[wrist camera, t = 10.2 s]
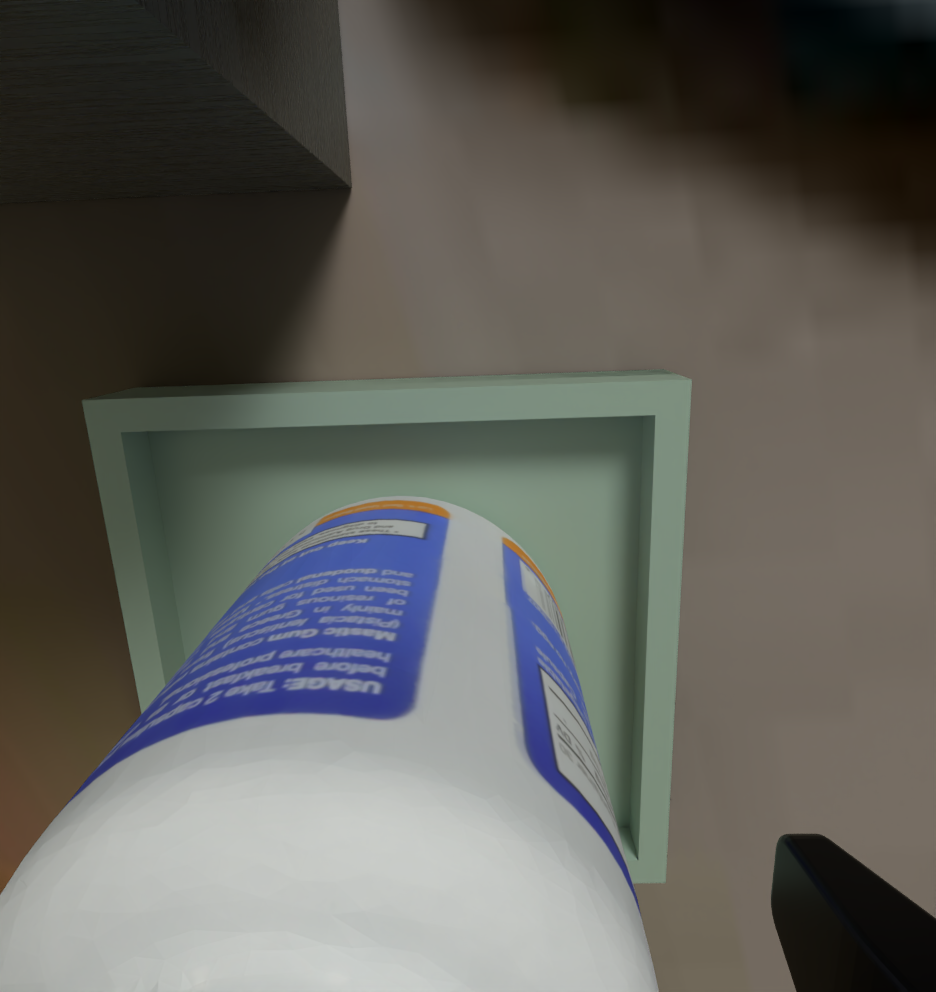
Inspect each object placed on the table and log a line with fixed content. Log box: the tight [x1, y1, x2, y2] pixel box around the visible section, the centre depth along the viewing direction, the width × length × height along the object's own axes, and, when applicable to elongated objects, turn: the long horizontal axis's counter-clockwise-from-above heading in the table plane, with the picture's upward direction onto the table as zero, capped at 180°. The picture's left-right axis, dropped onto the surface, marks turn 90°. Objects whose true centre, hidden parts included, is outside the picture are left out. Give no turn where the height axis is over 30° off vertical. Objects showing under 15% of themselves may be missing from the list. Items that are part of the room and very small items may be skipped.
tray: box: [82, 369, 692, 883], centre depth 12 cm, size 9×9×2 cm
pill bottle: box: [0, 496, 659, 992], centre depth 7 cm, size 5×5×10 cm
